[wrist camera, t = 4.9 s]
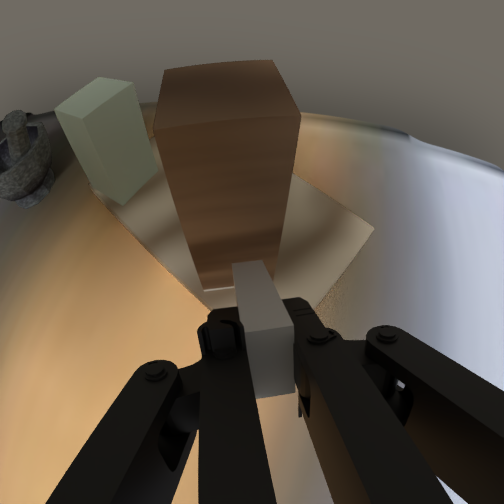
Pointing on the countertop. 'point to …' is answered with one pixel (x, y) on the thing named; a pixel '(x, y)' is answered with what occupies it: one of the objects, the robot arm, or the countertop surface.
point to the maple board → (291, 246)
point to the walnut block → (228, 161)
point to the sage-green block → (109, 137)
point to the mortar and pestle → (24, 161)
